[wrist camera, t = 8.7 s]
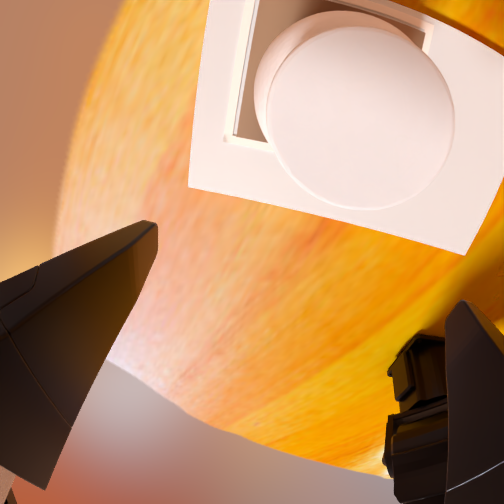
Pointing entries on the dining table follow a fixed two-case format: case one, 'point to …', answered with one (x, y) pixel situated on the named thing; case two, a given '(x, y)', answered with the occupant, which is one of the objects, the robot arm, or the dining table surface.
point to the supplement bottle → (354, 110)
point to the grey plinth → (275, 22)
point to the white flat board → (294, 197)
